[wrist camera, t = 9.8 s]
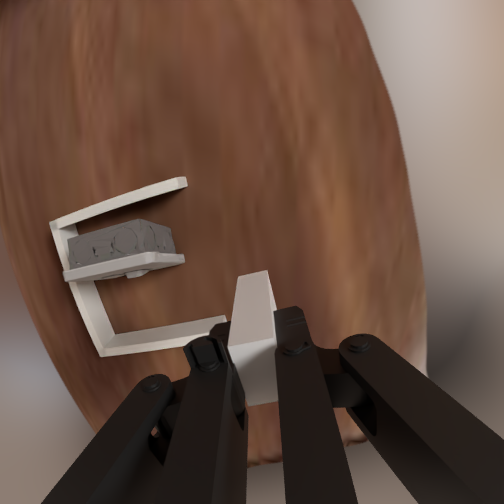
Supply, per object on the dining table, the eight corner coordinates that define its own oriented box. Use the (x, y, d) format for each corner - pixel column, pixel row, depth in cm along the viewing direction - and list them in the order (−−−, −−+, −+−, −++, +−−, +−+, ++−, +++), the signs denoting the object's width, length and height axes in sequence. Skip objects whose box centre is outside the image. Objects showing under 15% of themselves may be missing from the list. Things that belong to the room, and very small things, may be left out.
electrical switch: (111, 277, 33) (66, 301, 24) (100, 232, 32) (51, 243, 23) (188, 261, 32) (159, 284, 23) (176, 212, 31) (143, 216, 22)
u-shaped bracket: (66, 217, 31) (49, 222, 28) (185, 176, 30) (176, 177, 26) (111, 342, 35) (100, 356, 31) (227, 322, 34) (224, 338, 30)
